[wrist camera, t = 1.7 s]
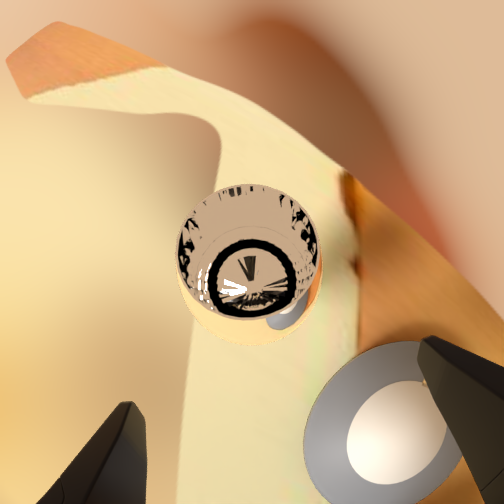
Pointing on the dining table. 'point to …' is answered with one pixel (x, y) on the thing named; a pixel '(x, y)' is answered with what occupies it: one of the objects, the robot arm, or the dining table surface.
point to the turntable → (378, 432)
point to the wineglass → (249, 264)
